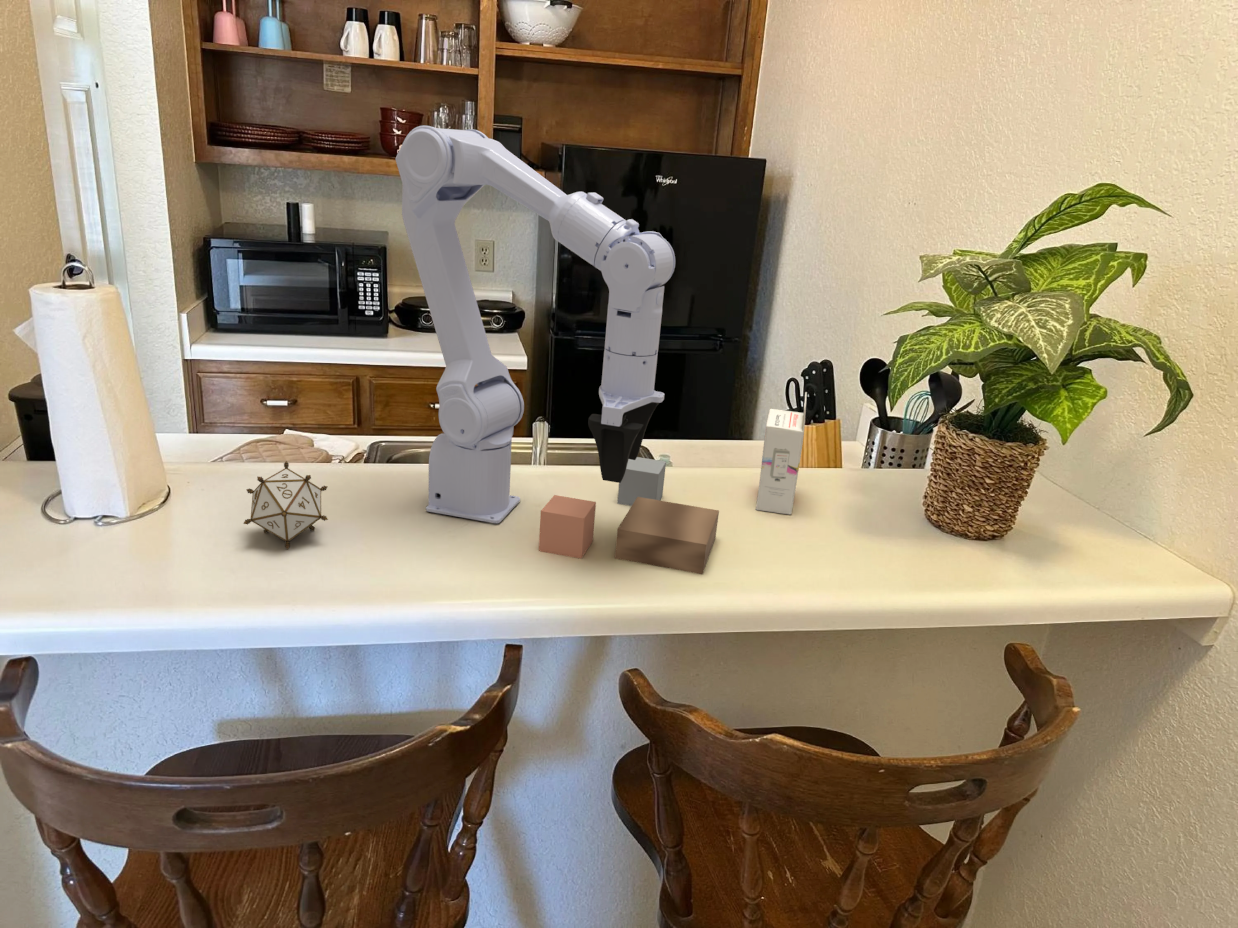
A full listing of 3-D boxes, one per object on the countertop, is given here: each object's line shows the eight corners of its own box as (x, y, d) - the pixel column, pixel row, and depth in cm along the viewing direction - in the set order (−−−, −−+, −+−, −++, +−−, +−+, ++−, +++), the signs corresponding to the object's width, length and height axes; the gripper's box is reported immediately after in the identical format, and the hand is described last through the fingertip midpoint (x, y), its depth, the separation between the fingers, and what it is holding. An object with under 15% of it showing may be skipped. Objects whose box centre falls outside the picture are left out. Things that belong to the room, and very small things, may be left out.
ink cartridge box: (757, 487, 122) (772, 386, 117) (793, 492, 122) (809, 390, 116) (753, 510, 114) (769, 402, 109) (791, 516, 114) (809, 407, 109)
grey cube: (617, 504, 113) (620, 468, 111) (626, 490, 118) (629, 455, 116) (655, 510, 112) (658, 474, 110) (662, 496, 117) (666, 461, 115)
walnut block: (614, 561, 98) (617, 528, 97) (634, 526, 107) (637, 496, 106) (702, 577, 96) (706, 544, 95) (715, 540, 105) (719, 510, 104)
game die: (309, 567, 98) (357, 511, 94) (237, 563, 92) (285, 502, 88) (288, 506, 103) (332, 450, 99) (218, 498, 96) (262, 437, 92)
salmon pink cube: (538, 551, 98) (540, 510, 97) (552, 534, 103) (554, 494, 101) (581, 559, 97) (584, 518, 96) (593, 541, 102) (595, 501, 100)
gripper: (655, 370, 86) (641, 497, 91) (679, 341, 99) (666, 454, 104) (585, 360, 87) (576, 486, 92) (618, 333, 100) (608, 444, 105)
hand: (620, 468), depth 98 cm, fingers open, 7 cm apart
